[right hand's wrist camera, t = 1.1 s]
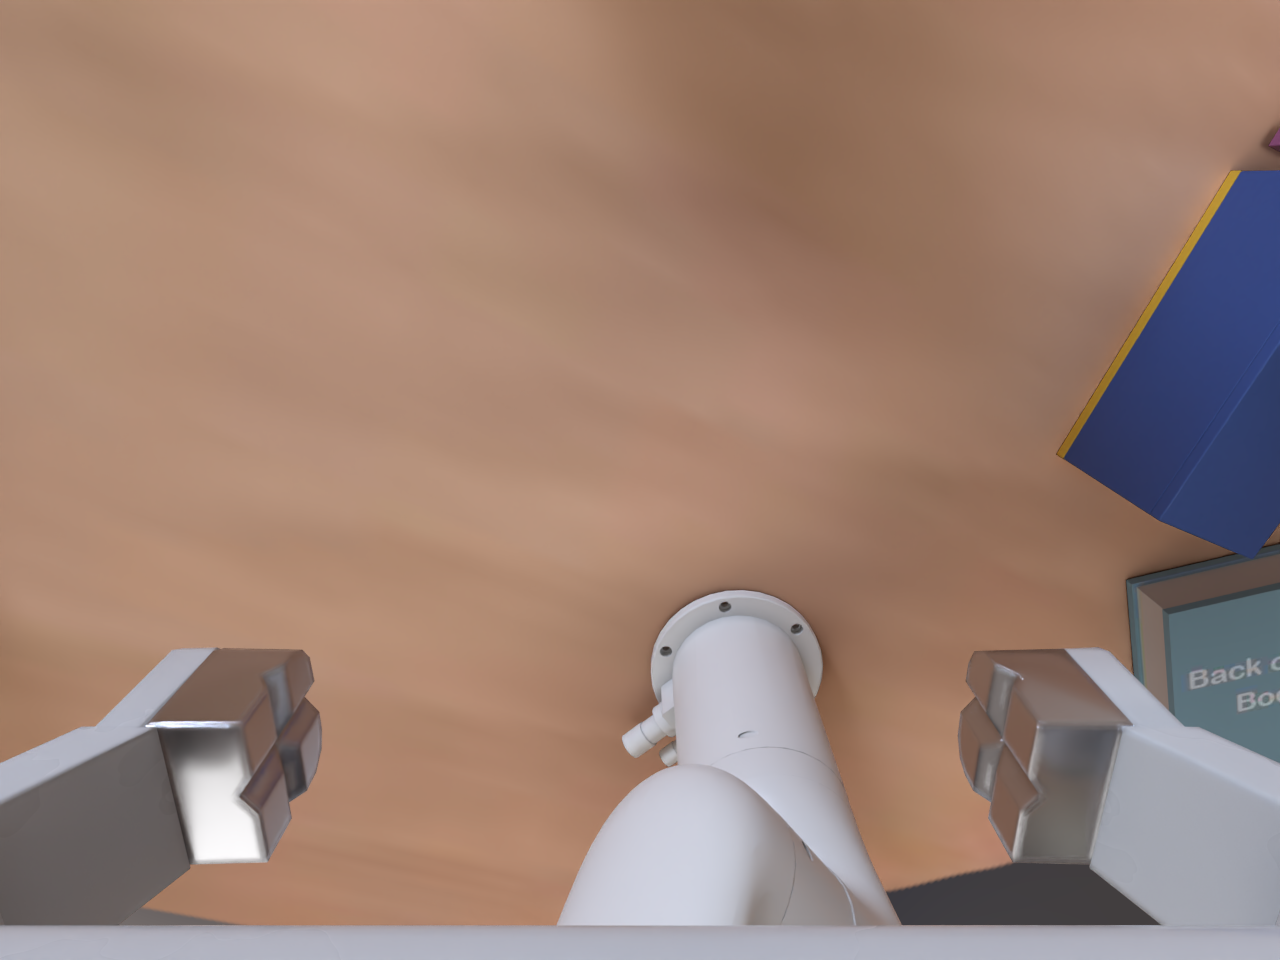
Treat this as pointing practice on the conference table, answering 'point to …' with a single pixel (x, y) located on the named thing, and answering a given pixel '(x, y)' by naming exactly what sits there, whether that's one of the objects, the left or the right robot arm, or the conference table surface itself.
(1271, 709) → the book
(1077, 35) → the conference table surface
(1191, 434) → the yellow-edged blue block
